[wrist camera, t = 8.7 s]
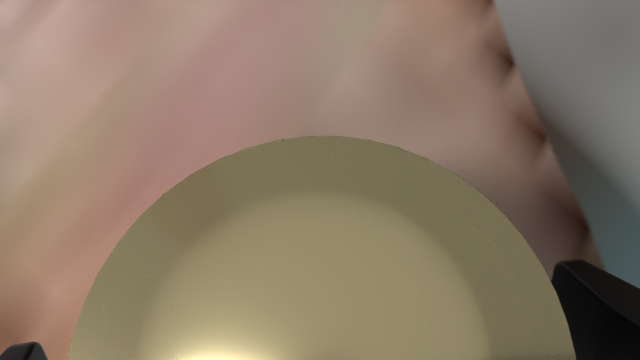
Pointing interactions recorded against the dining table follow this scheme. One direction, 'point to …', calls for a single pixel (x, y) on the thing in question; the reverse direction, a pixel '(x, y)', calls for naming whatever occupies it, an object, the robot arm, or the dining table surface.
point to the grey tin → (322, 266)
